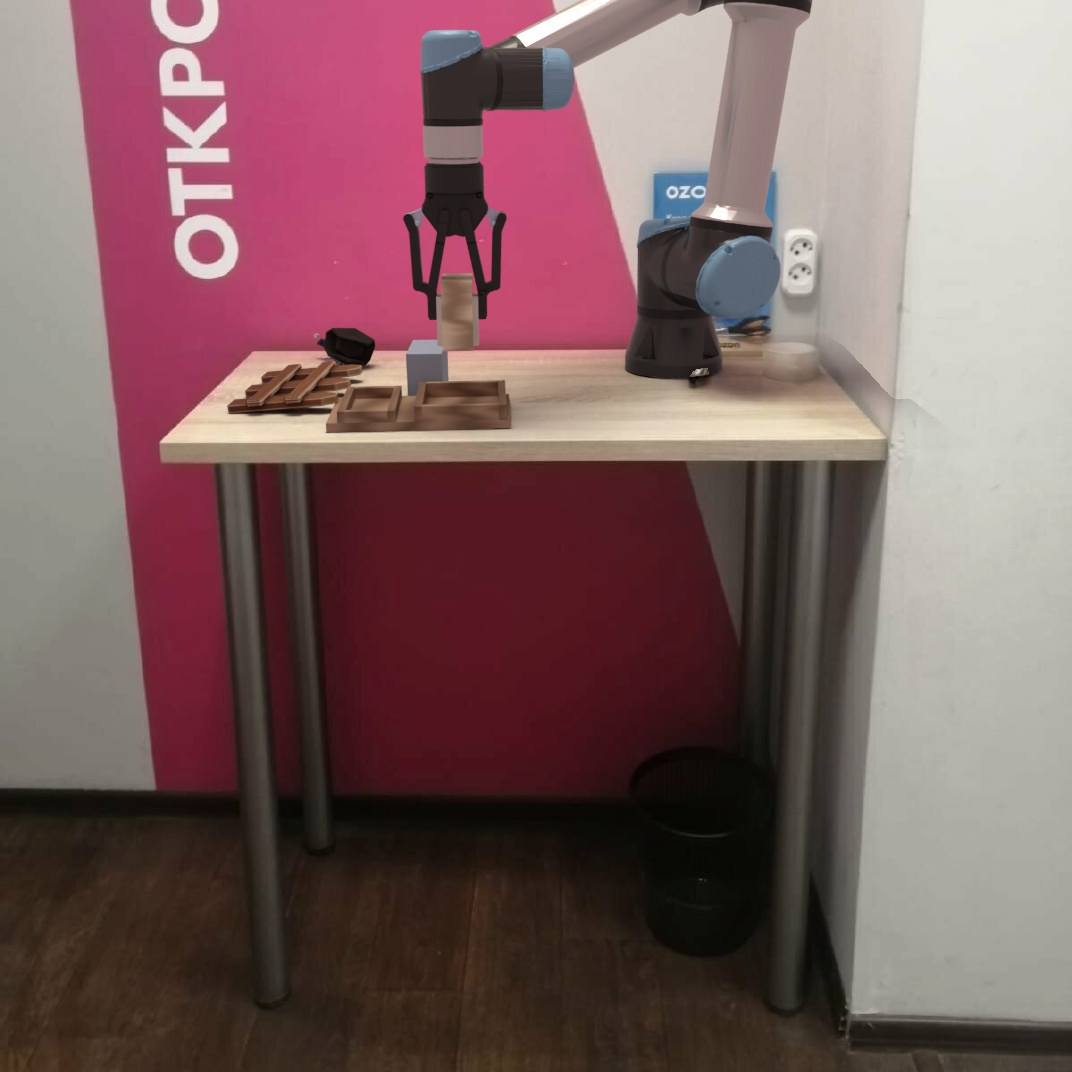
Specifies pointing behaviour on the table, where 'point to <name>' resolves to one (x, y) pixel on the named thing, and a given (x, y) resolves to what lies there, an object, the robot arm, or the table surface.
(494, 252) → the robot arm
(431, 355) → the grey rectangular block
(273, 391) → the decorative fence
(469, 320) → the wooden block
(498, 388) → the tray
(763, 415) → the table surface
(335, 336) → the toy
